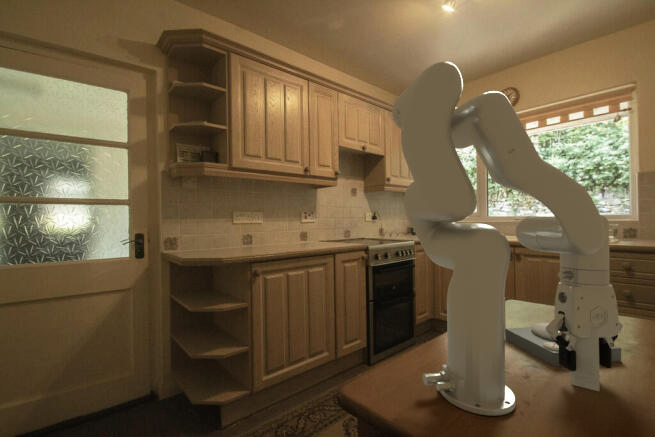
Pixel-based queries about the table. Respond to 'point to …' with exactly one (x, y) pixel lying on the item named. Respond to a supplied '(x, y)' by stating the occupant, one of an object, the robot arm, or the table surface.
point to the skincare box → (587, 362)
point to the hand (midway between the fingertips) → (584, 365)
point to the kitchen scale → (543, 343)
